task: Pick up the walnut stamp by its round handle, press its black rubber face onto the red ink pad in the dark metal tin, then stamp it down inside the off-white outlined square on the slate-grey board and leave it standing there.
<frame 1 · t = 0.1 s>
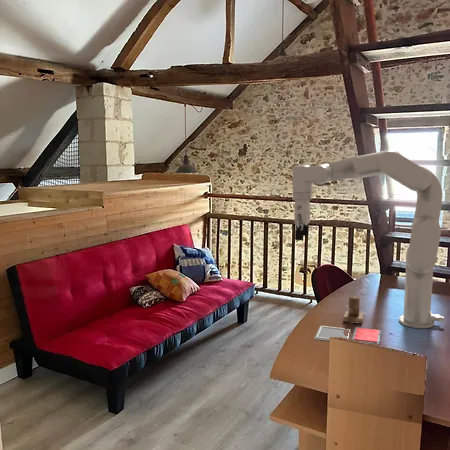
hand: (301, 237, 188), 31 cm above the table, tool pointing down, fingers open, 9 cm apart
stamp: (353, 320, 181), on the table
ink pad: (366, 338, 164), on the table
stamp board: (333, 334, 168), on the table
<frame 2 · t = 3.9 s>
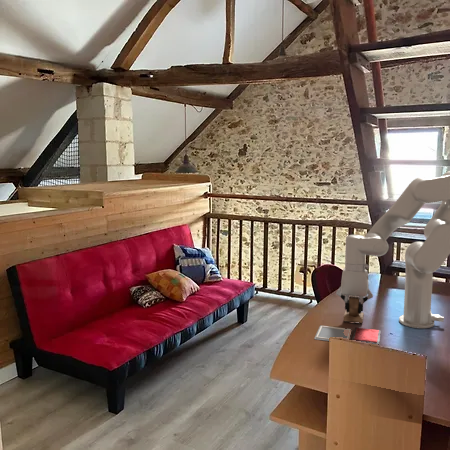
hand: (353, 311, 180), 4 cm above the table, tool pointing down, fingers closed on stamp, 4 cm apart
stamp: (353, 320, 181), on the table, touching gripper
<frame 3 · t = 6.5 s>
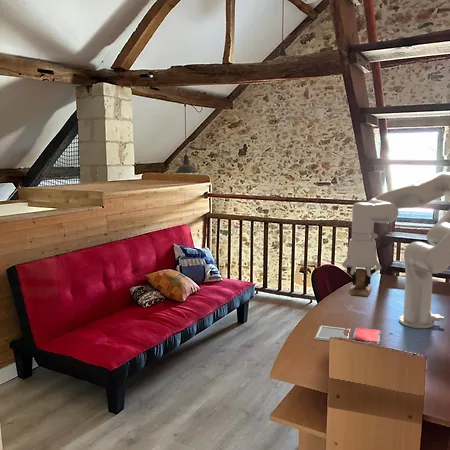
hand: (360, 284, 169), 17 cm above the table, tool pointing down, fingers closed on stamp, 4 cm apart
stamp: (360, 294, 170), point 14 cm above the table, touching gripper
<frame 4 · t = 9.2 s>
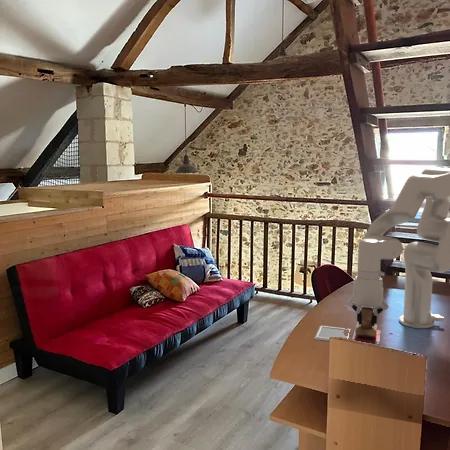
hand: (366, 323, 163), 6 cm above the table, tool pointing down, fingers closed on stamp, 4 cm apart
stamp: (366, 333, 164), point 2 cm above the table, touching gripper
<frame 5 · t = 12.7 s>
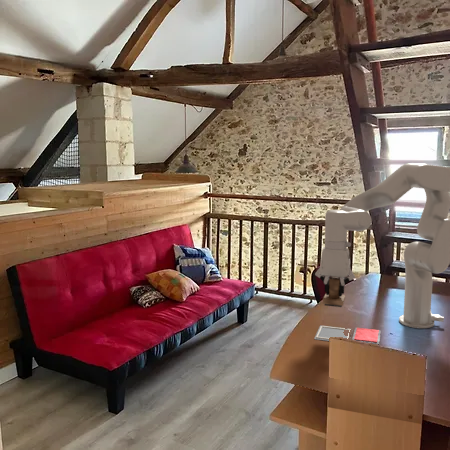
hand: (334, 294, 165), 15 cm above the table, tool pointing down, fingers closed on stamp, 4 cm apart
stamp: (334, 303, 166), point 12 cm above the table, touching gripper
when the fingers open (4 cm above the table, at t = 15.0 s): stamp stays where it is, resting on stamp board.
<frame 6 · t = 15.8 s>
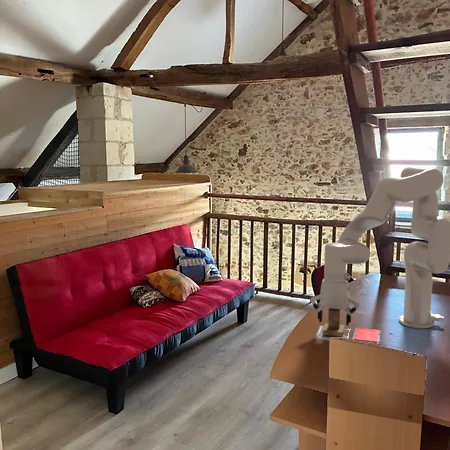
hand: (334, 322, 167), 5 cm above the table, tool pointing down, fingers open, 9 cm apart
stamp: (333, 333, 168), resting on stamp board
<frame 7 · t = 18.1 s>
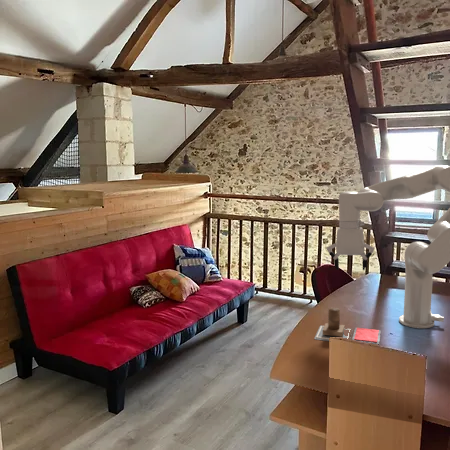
hand: (350, 269, 174), 22 cm above the table, tool pointing down, fingers open, 9 cm apart
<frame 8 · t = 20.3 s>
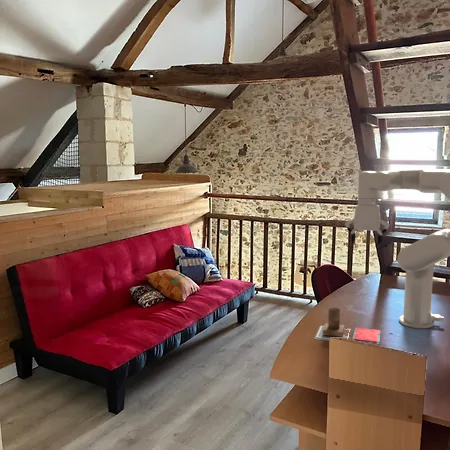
hand: (366, 243, 187), 28 cm above the table, tool pointing down, fingers open, 9 cm apart
at the end: stamp 0.1 cm off-centre on the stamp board, point 0.2 cm above the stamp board's base; stamp tilted 0°; the gripper is holding nothing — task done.
